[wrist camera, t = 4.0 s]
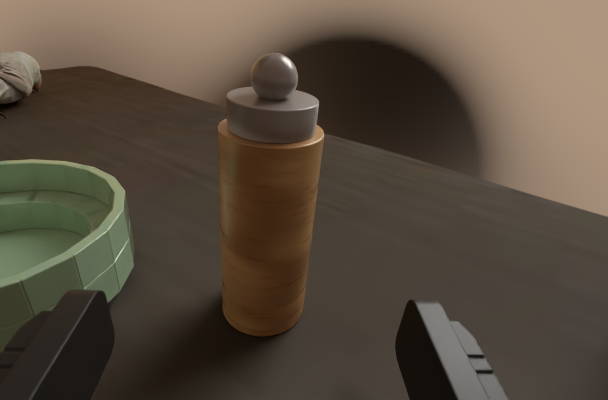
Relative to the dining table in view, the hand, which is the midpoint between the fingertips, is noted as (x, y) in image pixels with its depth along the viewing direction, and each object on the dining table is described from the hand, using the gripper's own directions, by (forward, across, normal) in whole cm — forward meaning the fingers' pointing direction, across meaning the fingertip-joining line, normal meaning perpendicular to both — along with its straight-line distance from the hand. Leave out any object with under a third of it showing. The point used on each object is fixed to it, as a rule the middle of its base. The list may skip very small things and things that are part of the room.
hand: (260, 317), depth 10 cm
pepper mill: (+9, 0, +9) cm, 13 cm away
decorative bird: (+44, +35, +9) cm, 57 cm away
